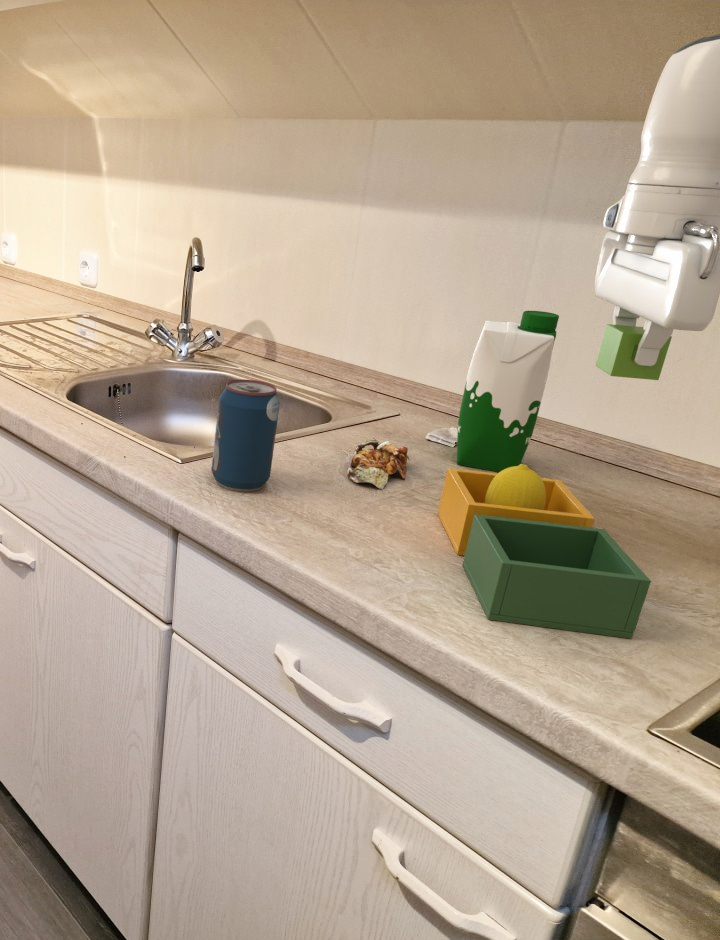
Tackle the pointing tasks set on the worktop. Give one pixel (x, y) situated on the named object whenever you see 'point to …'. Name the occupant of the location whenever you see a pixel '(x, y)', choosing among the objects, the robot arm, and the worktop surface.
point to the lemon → (517, 488)
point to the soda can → (245, 435)
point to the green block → (627, 353)
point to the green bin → (554, 576)
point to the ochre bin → (468, 499)
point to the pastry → (377, 462)
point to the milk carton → (505, 391)
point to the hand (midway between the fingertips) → (630, 357)
